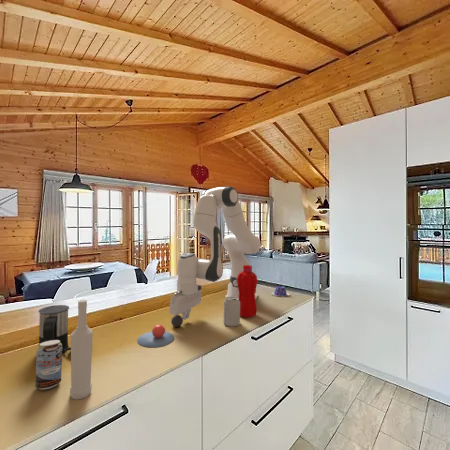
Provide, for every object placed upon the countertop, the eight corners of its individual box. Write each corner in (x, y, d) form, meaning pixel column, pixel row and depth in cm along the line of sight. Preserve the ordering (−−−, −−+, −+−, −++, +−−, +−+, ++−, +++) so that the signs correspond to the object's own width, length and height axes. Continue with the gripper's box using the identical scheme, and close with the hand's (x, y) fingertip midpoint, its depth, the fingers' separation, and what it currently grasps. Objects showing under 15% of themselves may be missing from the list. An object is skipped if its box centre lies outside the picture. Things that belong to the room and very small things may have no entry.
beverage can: (35, 396, 70) (35, 351, 70) (35, 382, 76) (35, 340, 76) (63, 388, 74) (63, 345, 74) (60, 375, 80) (61, 335, 80)
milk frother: (36, 349, 95) (36, 307, 94) (85, 337, 105) (86, 299, 105) (40, 366, 84) (41, 319, 84) (95, 352, 94) (95, 310, 94)
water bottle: (247, 320, 127) (249, 268, 126) (233, 313, 136) (234, 264, 135) (261, 317, 132) (263, 266, 132) (247, 310, 141) (248, 263, 141)
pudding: (293, 297, 170) (293, 288, 170) (276, 298, 166) (276, 289, 166) (283, 291, 182) (284, 284, 181) (267, 292, 178) (268, 285, 178)
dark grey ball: (168, 318, 116) (169, 328, 117) (177, 320, 114) (178, 330, 115) (175, 312, 120) (177, 321, 121) (184, 313, 118) (185, 324, 119)
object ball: (150, 324, 106) (148, 337, 105) (160, 327, 103) (158, 340, 103) (158, 322, 110) (157, 335, 109) (168, 324, 108) (166, 337, 107)
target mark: (154, 328, 115) (154, 328, 115) (181, 336, 108) (181, 335, 108) (129, 341, 102) (129, 341, 102) (157, 350, 96) (157, 350, 96)
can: (238, 328, 118) (239, 301, 118) (221, 326, 119) (222, 299, 119) (240, 321, 125) (241, 296, 125) (225, 320, 127) (225, 295, 127)
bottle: (66, 395, 71) (67, 301, 70) (85, 385, 75) (86, 296, 75) (76, 402, 68) (77, 305, 68) (95, 392, 72) (97, 300, 72)
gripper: (178, 295, 112) (177, 328, 112) (203, 285, 130) (203, 313, 130) (166, 292, 115) (165, 324, 115) (193, 283, 133) (192, 311, 133)
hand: (185, 318), depth 123 cm, fingers closed
